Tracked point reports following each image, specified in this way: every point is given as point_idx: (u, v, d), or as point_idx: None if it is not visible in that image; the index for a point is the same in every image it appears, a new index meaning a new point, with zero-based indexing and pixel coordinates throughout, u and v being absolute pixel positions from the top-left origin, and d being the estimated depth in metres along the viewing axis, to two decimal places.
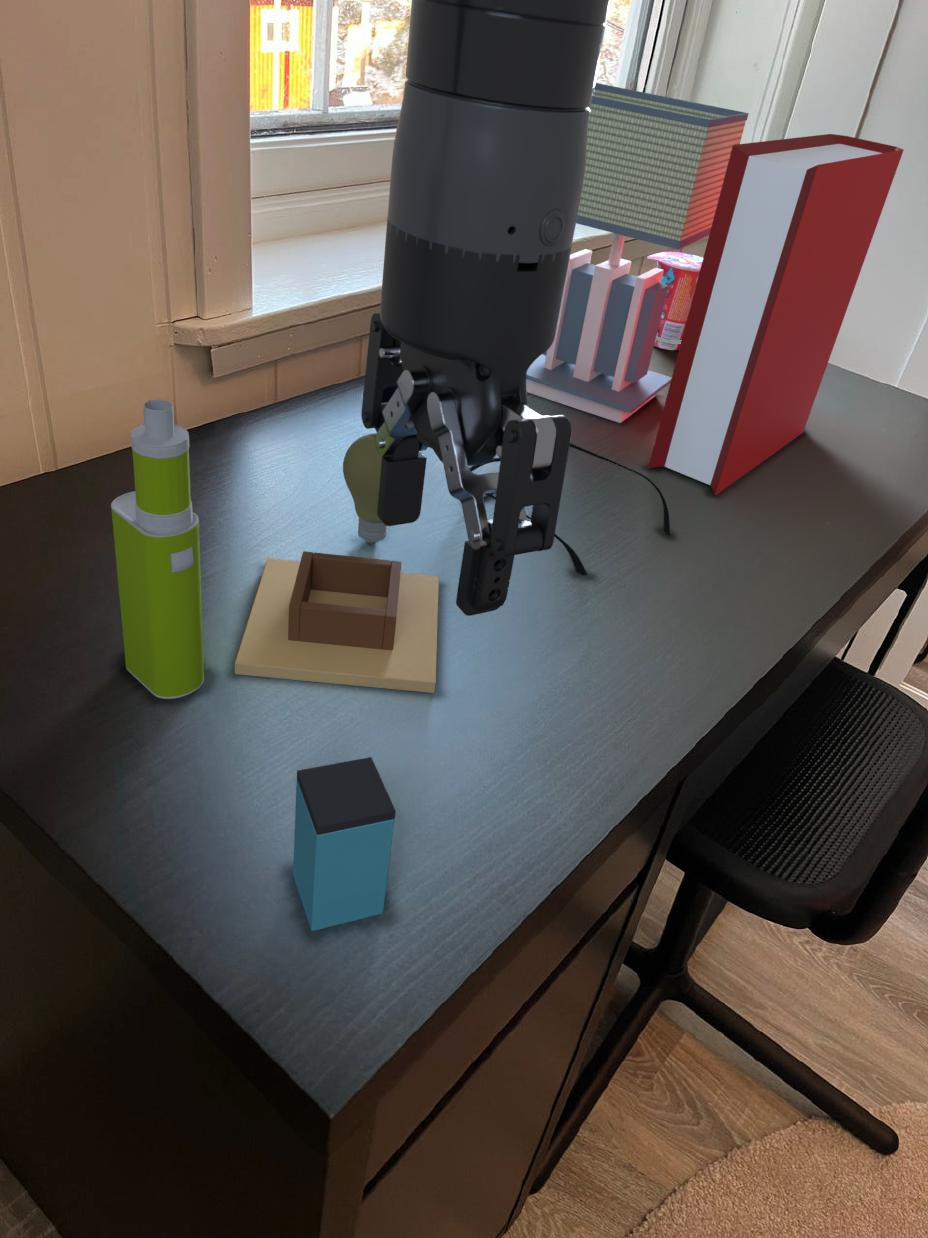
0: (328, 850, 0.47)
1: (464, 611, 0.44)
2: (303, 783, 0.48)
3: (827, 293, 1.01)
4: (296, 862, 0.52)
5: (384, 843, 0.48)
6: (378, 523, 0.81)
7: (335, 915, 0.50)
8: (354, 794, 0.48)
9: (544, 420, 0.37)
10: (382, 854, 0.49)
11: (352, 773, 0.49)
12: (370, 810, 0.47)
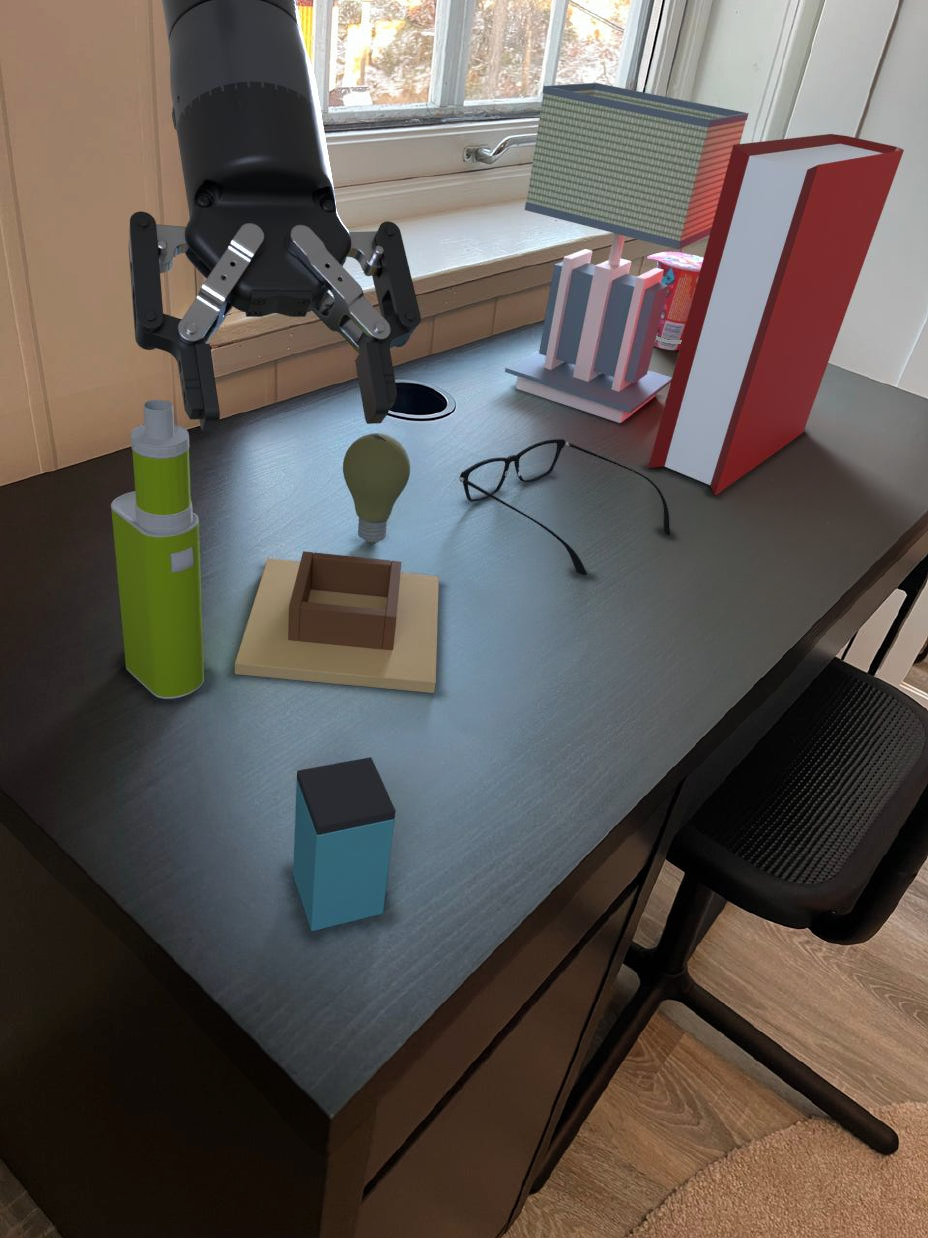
0: (328, 850, 0.47)
1: (388, 405, 0.49)
2: (303, 783, 0.48)
3: (827, 293, 1.01)
4: (296, 862, 0.52)
5: (384, 843, 0.48)
6: (378, 523, 0.81)
7: (335, 915, 0.50)
8: (354, 794, 0.48)
9: None
10: (382, 854, 0.49)
11: (352, 773, 0.49)
12: (370, 810, 0.47)
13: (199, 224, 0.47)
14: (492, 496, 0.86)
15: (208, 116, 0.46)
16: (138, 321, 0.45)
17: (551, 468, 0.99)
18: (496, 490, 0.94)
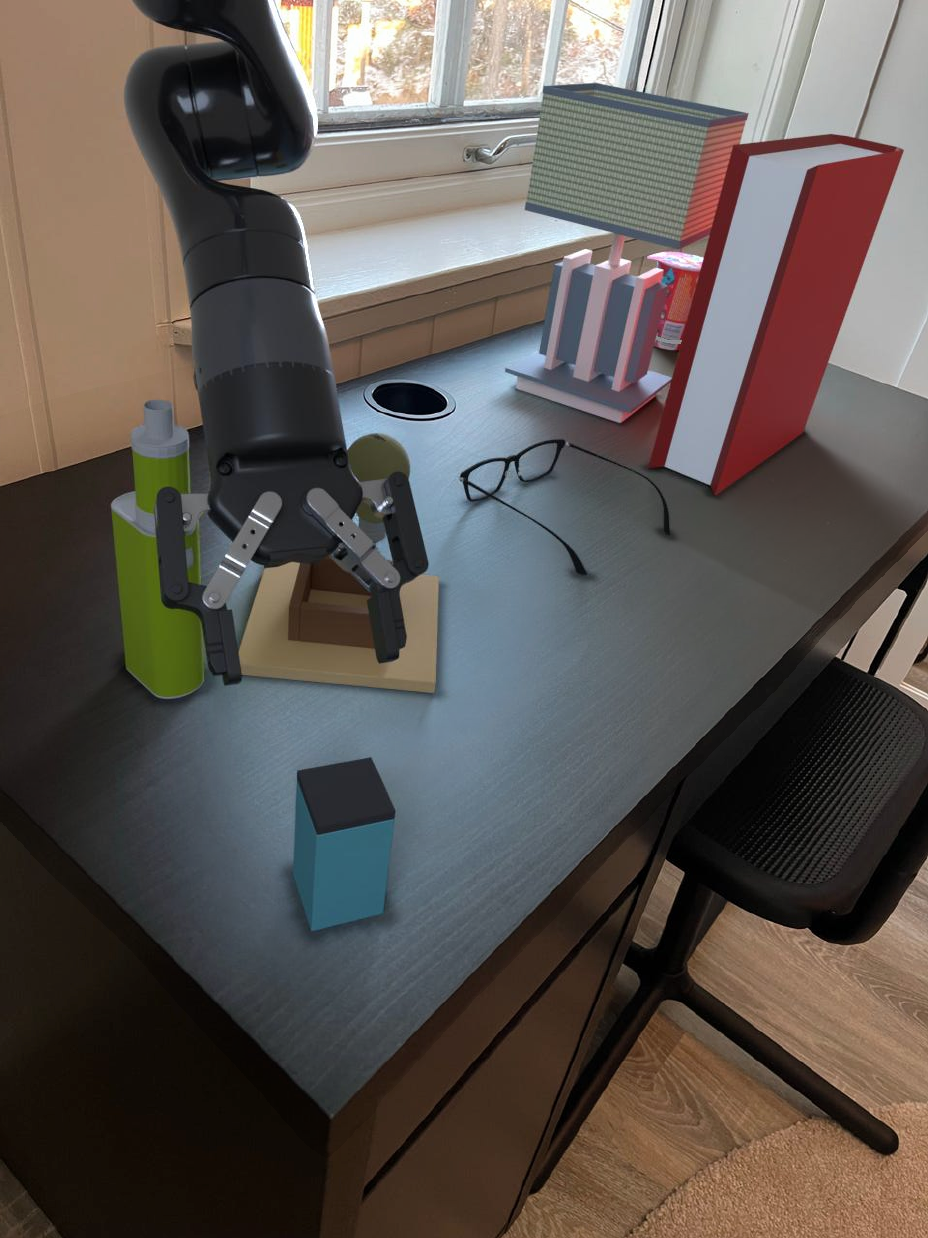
0: (328, 850, 0.47)
1: (398, 652, 0.52)
2: (303, 783, 0.48)
3: (827, 293, 1.01)
4: (296, 862, 0.52)
5: (384, 843, 0.48)
6: (378, 523, 0.81)
7: (335, 915, 0.50)
8: (354, 794, 0.48)
9: None
10: (382, 854, 0.49)
11: (352, 773, 0.49)
12: (370, 810, 0.47)
13: (221, 493, 0.50)
14: (492, 496, 0.86)
15: (229, 394, 0.49)
16: (165, 594, 0.48)
17: (551, 468, 0.99)
18: (496, 490, 0.94)
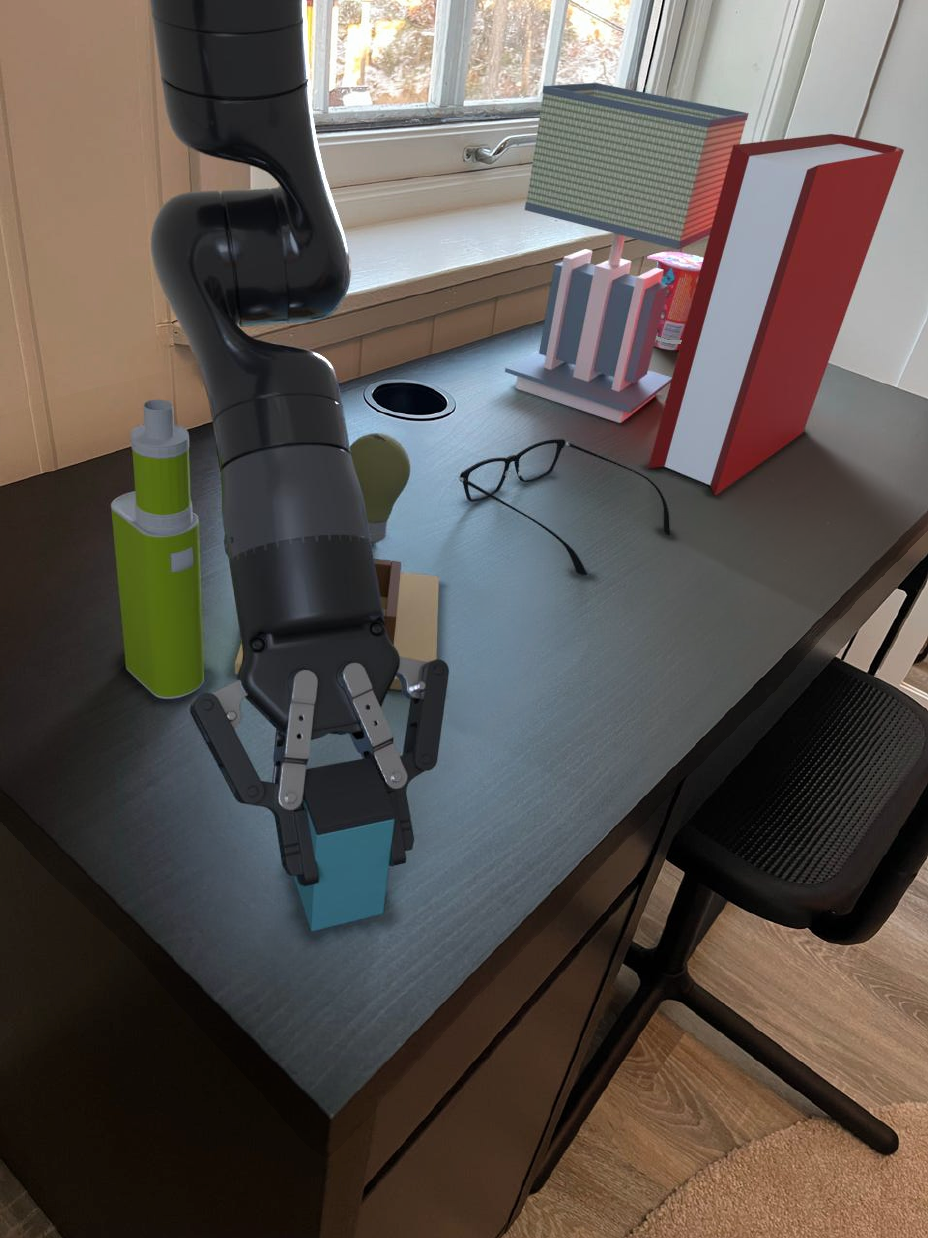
0: (328, 850, 0.47)
1: (405, 857, 0.49)
2: None
3: (827, 293, 1.01)
4: None
5: (384, 843, 0.48)
6: (378, 523, 0.81)
7: (335, 915, 0.50)
8: (354, 794, 0.48)
9: None
10: (382, 855, 0.49)
11: (352, 773, 0.49)
12: (370, 810, 0.47)
13: (254, 671, 0.48)
14: (492, 496, 0.86)
15: (263, 570, 0.47)
16: (244, 801, 0.46)
17: (551, 468, 0.99)
18: (496, 490, 0.94)
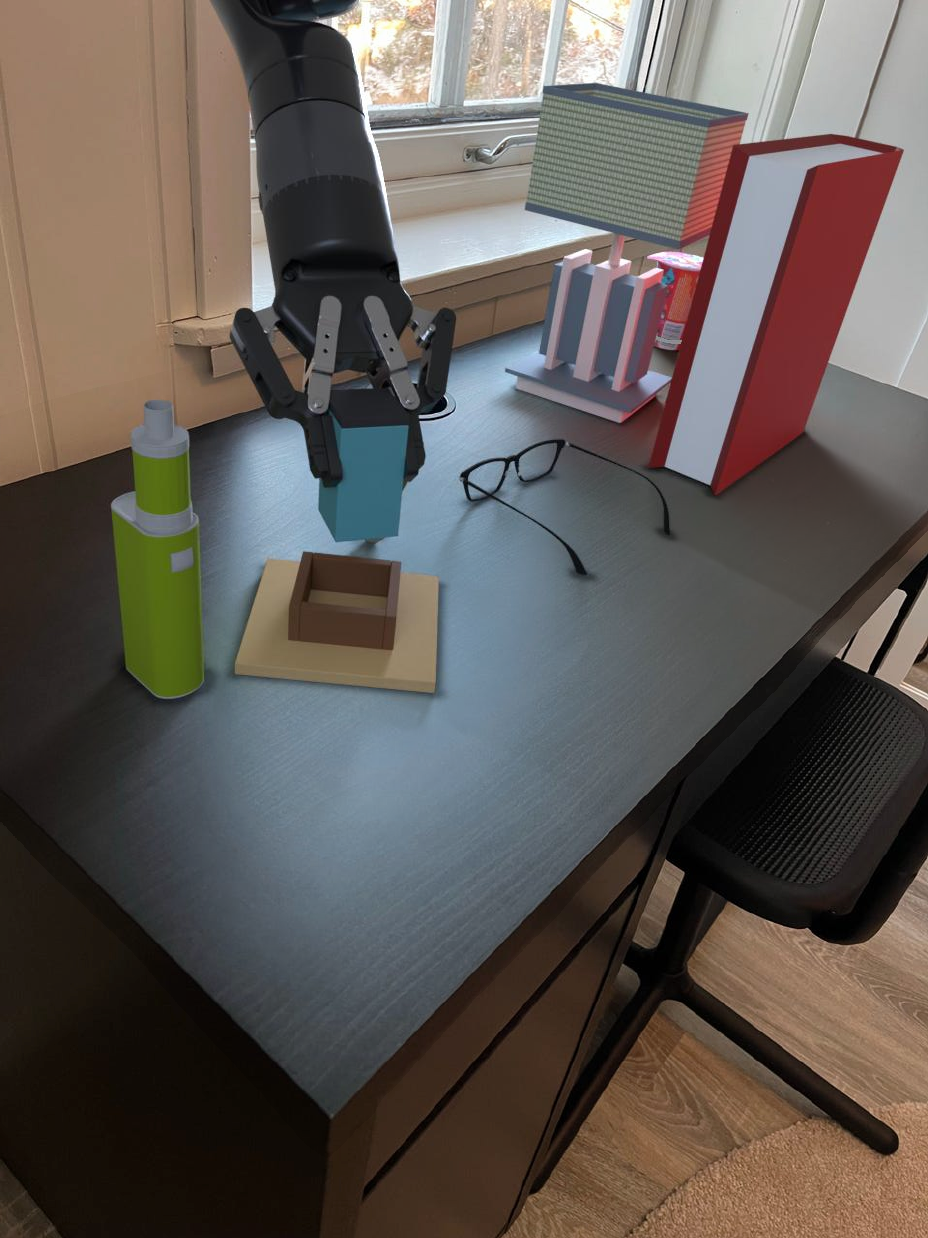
0: (351, 448, 0.54)
1: (418, 467, 0.56)
2: None
3: (827, 293, 1.01)
4: (321, 490, 0.59)
5: (399, 451, 0.55)
6: None
7: (356, 527, 0.57)
8: (373, 404, 0.55)
9: None
10: (397, 464, 0.56)
11: (371, 394, 0.56)
12: (387, 413, 0.54)
13: (286, 296, 0.55)
14: (492, 496, 0.86)
15: (294, 204, 0.54)
16: (278, 401, 0.53)
17: (551, 468, 0.99)
18: (496, 490, 0.94)
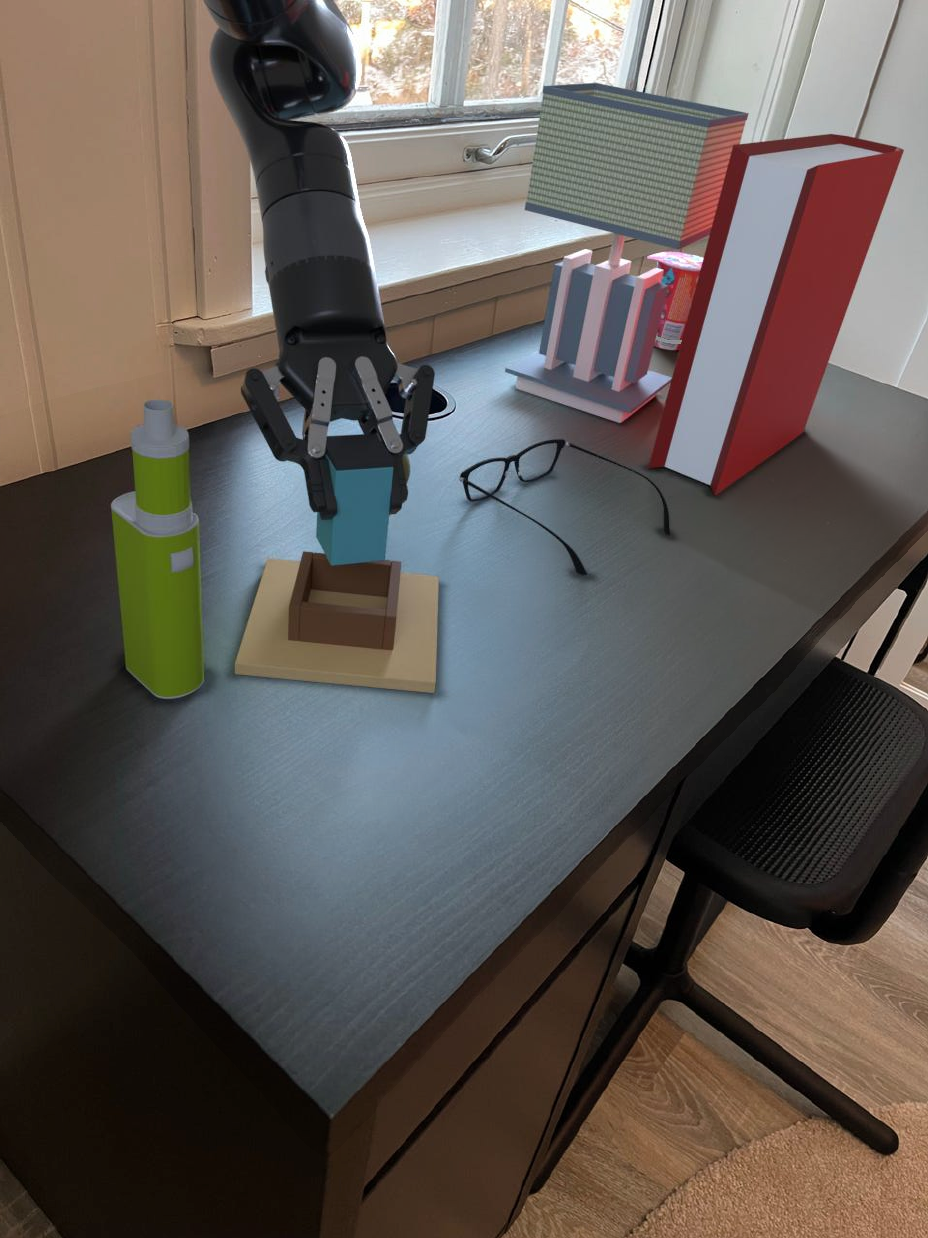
0: (344, 486, 0.64)
1: (401, 503, 0.65)
2: None
3: (827, 293, 1.01)
4: (319, 521, 0.68)
5: (385, 489, 0.65)
6: None
7: (349, 553, 0.67)
8: (363, 449, 0.64)
9: None
10: (384, 500, 0.65)
11: (362, 440, 0.65)
12: (375, 457, 0.64)
13: (289, 358, 0.64)
14: (492, 496, 0.86)
15: (296, 280, 0.64)
16: (282, 447, 0.63)
17: (551, 468, 0.99)
18: (496, 490, 0.94)
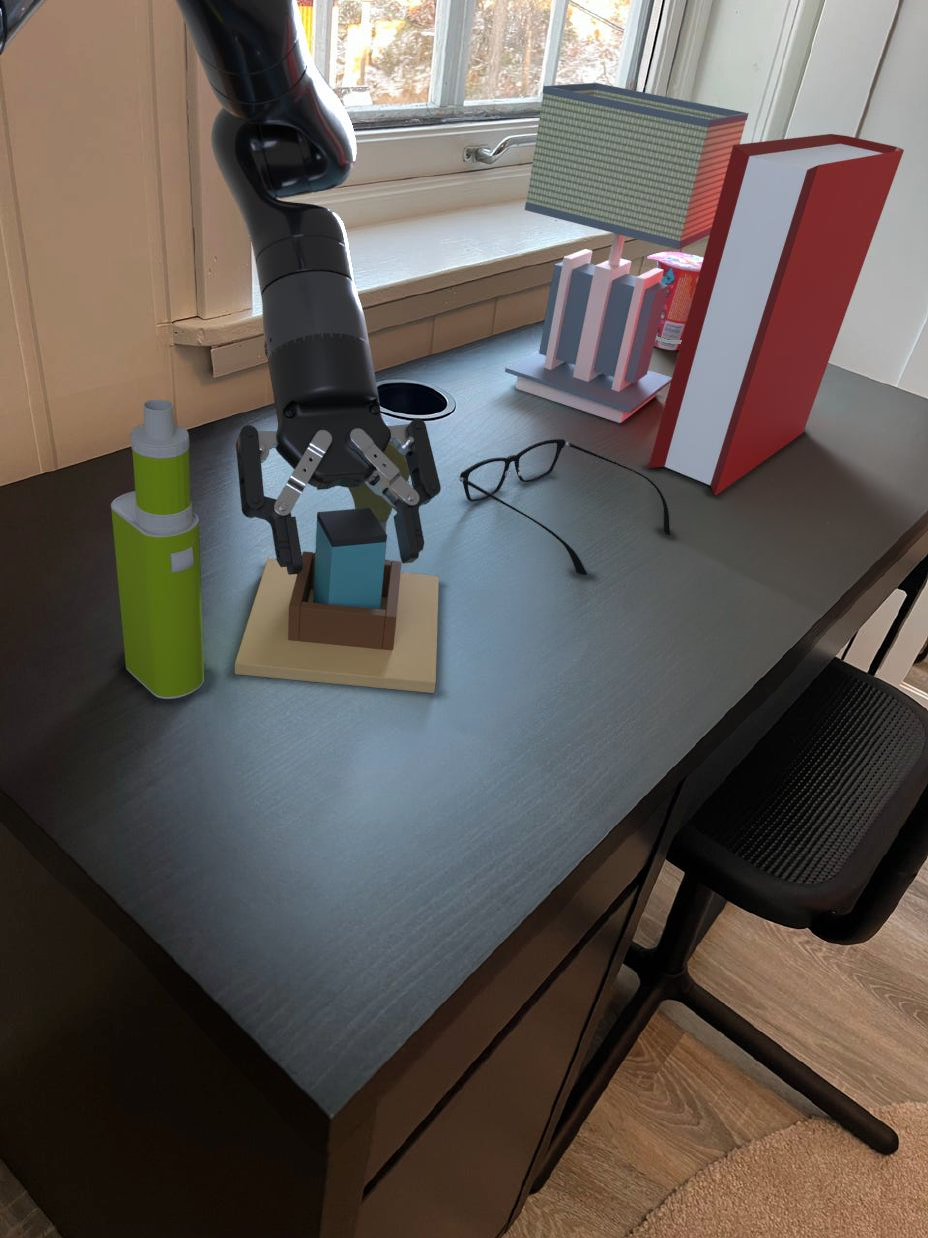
0: (340, 561, 0.67)
1: (418, 552, 0.69)
2: (321, 518, 0.68)
3: (827, 293, 1.01)
4: (315, 589, 0.72)
5: (379, 562, 0.68)
6: None
7: None
8: (358, 525, 0.68)
9: None
10: (377, 572, 0.69)
11: (356, 515, 0.69)
12: (369, 533, 0.67)
13: (287, 431, 0.67)
14: (492, 496, 0.86)
15: (293, 357, 0.67)
16: (247, 503, 0.65)
17: (551, 468, 0.99)
18: (496, 490, 0.94)
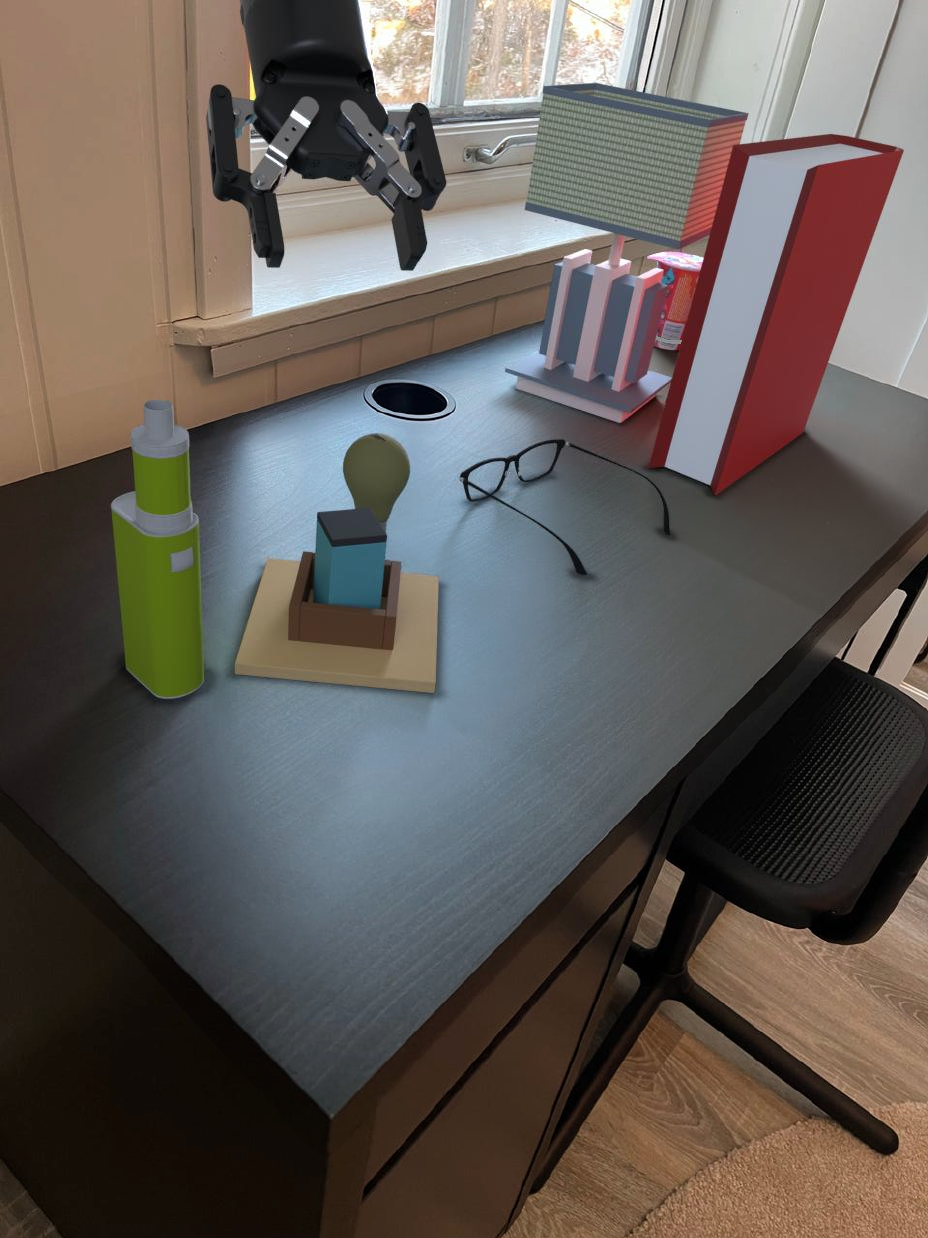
0: (340, 561, 0.67)
1: (420, 251, 0.59)
2: (321, 518, 0.68)
3: (827, 293, 1.01)
4: (315, 589, 0.72)
5: (379, 562, 0.68)
6: None
7: None
8: (358, 525, 0.68)
9: None
10: (377, 572, 0.69)
11: (356, 515, 0.69)
12: (369, 533, 0.67)
13: (265, 97, 0.57)
14: (492, 496, 0.86)
15: (273, 7, 0.56)
16: (218, 171, 0.55)
17: (551, 468, 0.99)
18: (496, 490, 0.94)
